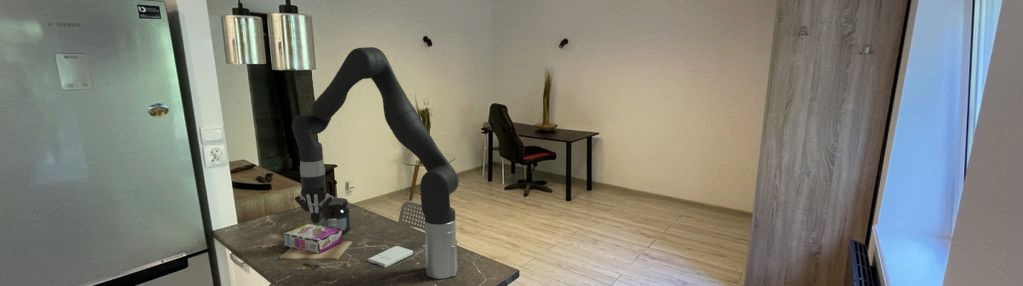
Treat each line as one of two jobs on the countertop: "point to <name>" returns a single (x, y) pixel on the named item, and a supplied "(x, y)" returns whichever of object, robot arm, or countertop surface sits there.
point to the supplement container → (336, 215)
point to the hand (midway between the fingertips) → (316, 222)
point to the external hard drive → (390, 256)
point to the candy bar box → (313, 238)
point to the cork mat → (326, 255)
